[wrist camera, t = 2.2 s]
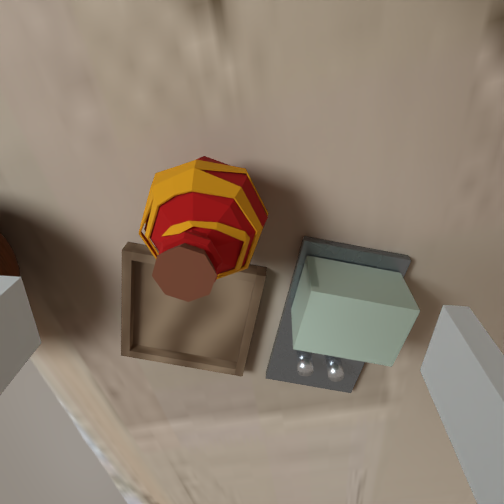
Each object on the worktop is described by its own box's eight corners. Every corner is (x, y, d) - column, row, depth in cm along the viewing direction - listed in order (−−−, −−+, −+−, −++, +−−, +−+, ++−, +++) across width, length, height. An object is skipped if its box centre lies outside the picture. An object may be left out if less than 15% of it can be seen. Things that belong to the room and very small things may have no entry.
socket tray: (126, 345, 48) (121, 355, 46) (127, 241, 40) (121, 250, 39) (243, 365, 48) (242, 376, 47) (266, 267, 41) (266, 276, 39)
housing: (291, 309, 42) (293, 349, 36) (306, 255, 38) (311, 291, 33) (377, 324, 42) (391, 366, 37) (400, 272, 39) (420, 310, 33)
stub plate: (266, 372, 49) (265, 394, 45) (303, 236, 39) (306, 252, 36) (349, 386, 49) (354, 409, 46) (408, 255, 39) (419, 273, 36)
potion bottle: (268, 134, 34) (262, 195, 21) (271, 237, 39) (267, 338, 26) (154, 138, 35) (79, 199, 22) (171, 239, 40) (119, 337, 27)
